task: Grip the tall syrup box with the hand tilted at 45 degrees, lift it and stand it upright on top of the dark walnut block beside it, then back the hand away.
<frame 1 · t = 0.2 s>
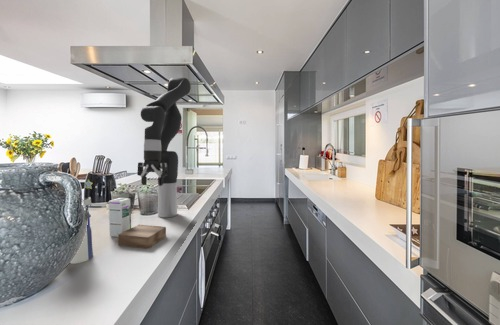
hand: (152, 185, 118), 18 cm above the table, tool pointing down, fingers open, 8 cm apart
walnut block: (143, 240, 98), on the table
syrup box: (120, 234, 104), on the table
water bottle: (78, 258, 82), on the table
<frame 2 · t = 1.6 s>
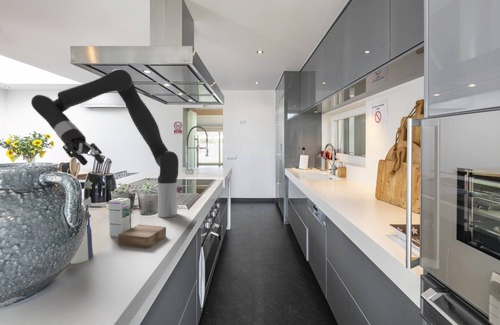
hand: (94, 163, 104), 29 cm above the table, tool tilted 45°, fingers open, 8 cm apart
nothing on the table moved.
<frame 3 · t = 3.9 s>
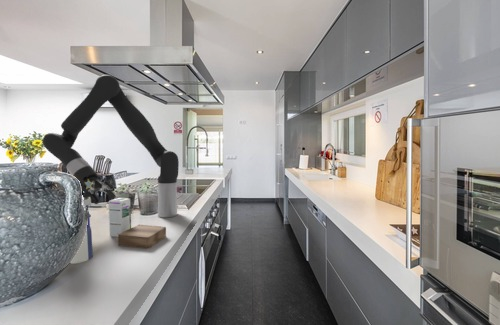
hand: (106, 200, 104), 13 cm above the table, tool tilted 45°, fingers open, 8 cm apart
nothing on the table moved.
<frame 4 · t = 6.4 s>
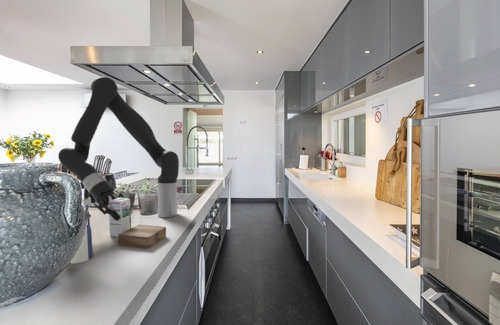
hand: (124, 217, 103), 7 cm above the table, tool tilted 45°, fingers closed on syrup box, 5 cm apart
syrup box: (120, 234, 104), on the table, touching gripper
everything else where it was.
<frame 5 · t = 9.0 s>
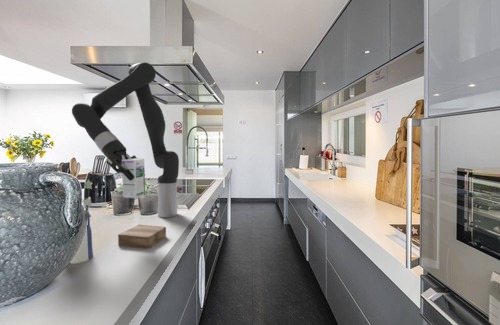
hand: (138, 177, 98), 24 cm above the table, tool tilted 45°, fingers closed on syrup box, 5 cm apart
syrup box: (134, 196, 98), point 16 cm above the table, touching gripper
everything else where it was.
when the fingers open (13 cm above the table, at t = 12.0 s): syrup box drops 1 cm, resting on walnut block.
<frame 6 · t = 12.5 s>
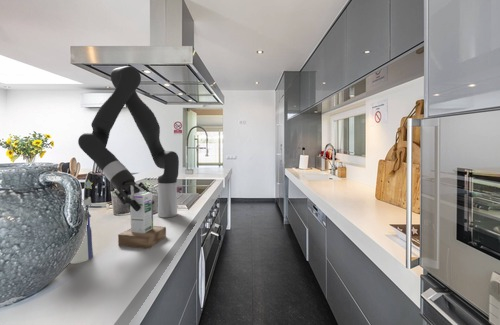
hand: (146, 207, 96), 13 cm above the table, tool tilted 45°, fingers open, 8 cm apart
syrup box: (142, 231, 97), point 4 cm above the table, touching walnut block
everything else where it was.
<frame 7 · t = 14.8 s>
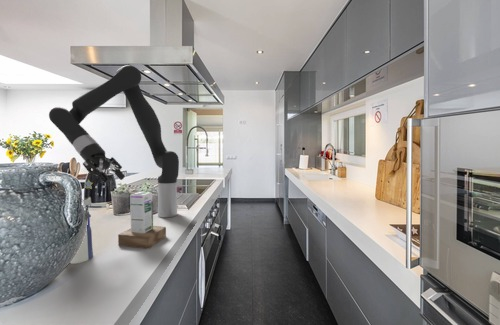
hand: (115, 179, 98), 23 cm above the table, tool tilted 45°, fingers open, 8 cm apart
nothing on the table moved.
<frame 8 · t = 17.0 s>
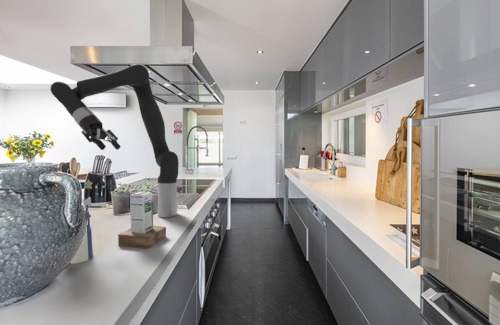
hand: (111, 148, 107), 35 cm above the table, tool tilted 45°, fingers open, 8 cm apart
nothing on the table moved.
at the end: syrup box inside the target area on the walnut block (0.4 cm from its centre), point 3.8 cm above the walnut block's base; syrup box tilted 0°; the gripper is holding nothing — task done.
